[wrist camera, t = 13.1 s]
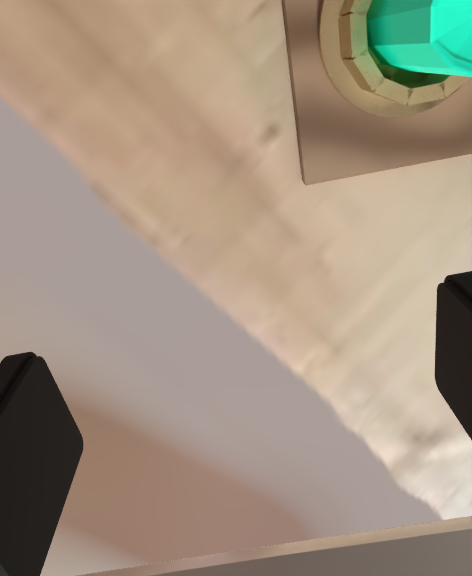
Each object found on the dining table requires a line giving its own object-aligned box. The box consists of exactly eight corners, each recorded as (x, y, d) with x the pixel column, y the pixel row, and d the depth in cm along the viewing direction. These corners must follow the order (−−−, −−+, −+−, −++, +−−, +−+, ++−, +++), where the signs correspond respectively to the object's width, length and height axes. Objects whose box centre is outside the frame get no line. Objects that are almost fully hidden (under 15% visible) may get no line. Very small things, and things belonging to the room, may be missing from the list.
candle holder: (309, -64, 28) (322, -80, 25) (499, -106, 28) (540, -129, 24) (325, 129, 34) (338, 138, 30) (483, 98, 33) (515, 103, 30)
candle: (438, -55, 28) (572, -121, 17) (464, 39, 30) (595, 32, 20) (351, 1, 29) (426, -29, 19) (383, 87, 32) (465, 104, 21)
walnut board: (267, -130, 28) (269, -138, 27) (524, -190, 27) (540, -202, 26) (302, 180, 37) (305, 185, 36) (494, 143, 36) (505, 147, 35)
